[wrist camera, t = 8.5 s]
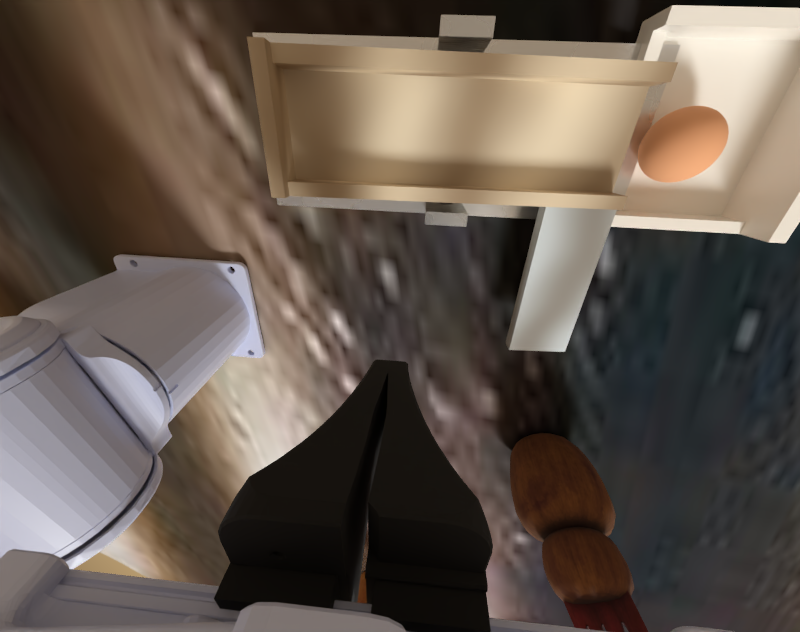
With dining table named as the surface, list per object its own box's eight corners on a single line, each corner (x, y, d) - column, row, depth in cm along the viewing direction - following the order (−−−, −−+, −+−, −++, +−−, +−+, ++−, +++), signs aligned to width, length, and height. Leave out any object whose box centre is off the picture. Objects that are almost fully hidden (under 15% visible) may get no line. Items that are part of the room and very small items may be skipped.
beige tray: (309, 335, 21) (296, 361, 18) (273, 46, 13) (244, 25, 11) (558, 343, 21) (579, 370, 18) (656, 65, 14) (712, 48, 11)
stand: (281, 203, 20) (246, 218, 16) (258, 36, 16) (203, 1, 12) (609, 221, 19) (656, 241, 15) (671, 48, 15) (758, 14, 11)
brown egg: (691, 182, 16) (621, 177, 17) (724, 109, 15) (645, 108, 16) (718, 188, 14) (635, 182, 15) (762, 101, 12) (665, 101, 13)
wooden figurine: (583, 421, 27) (735, 692, 13) (575, 464, 29) (695, 725, 16) (501, 425, 27) (568, 682, 14) (501, 467, 30) (557, 714, 17)
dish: (580, 218, 19) (611, 233, 15) (642, 21, 14) (702, -13, 11) (723, 225, 18) (785, 243, 15) (831, 26, 14) (949, -8, 11)
